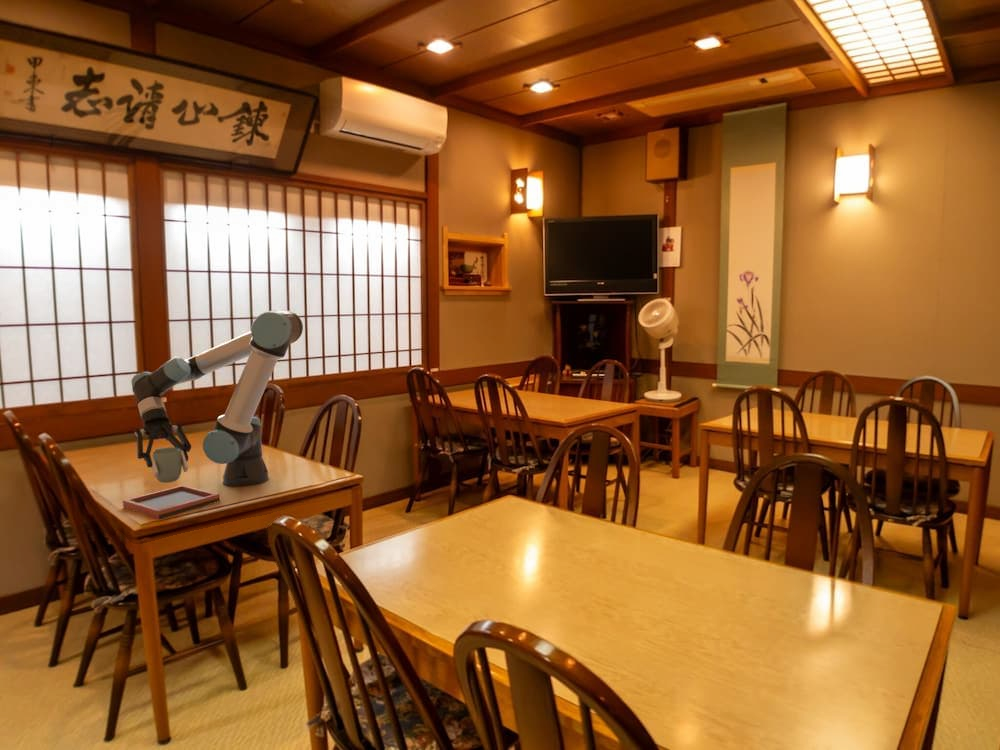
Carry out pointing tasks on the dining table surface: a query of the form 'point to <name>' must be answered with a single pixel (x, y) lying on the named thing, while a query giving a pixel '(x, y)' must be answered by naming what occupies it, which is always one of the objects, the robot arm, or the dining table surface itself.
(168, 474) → the cup
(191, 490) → the tray
